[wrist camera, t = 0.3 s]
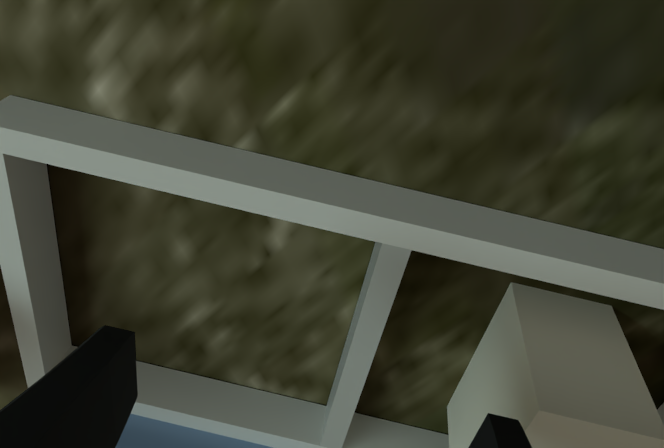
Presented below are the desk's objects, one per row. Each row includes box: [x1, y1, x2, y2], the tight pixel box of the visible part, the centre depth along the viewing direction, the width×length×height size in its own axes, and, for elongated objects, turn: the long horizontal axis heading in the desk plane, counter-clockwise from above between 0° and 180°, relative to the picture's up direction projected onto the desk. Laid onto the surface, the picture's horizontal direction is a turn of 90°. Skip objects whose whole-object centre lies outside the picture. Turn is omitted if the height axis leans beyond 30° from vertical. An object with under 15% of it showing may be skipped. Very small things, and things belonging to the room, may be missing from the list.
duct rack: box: [0, 95, 664, 448], centre depth 22 cm, size 15×29×4 cm, turn 79°
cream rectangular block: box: [447, 282, 664, 448], centre depth 21 cm, size 8×4×6 cm, turn 169°
